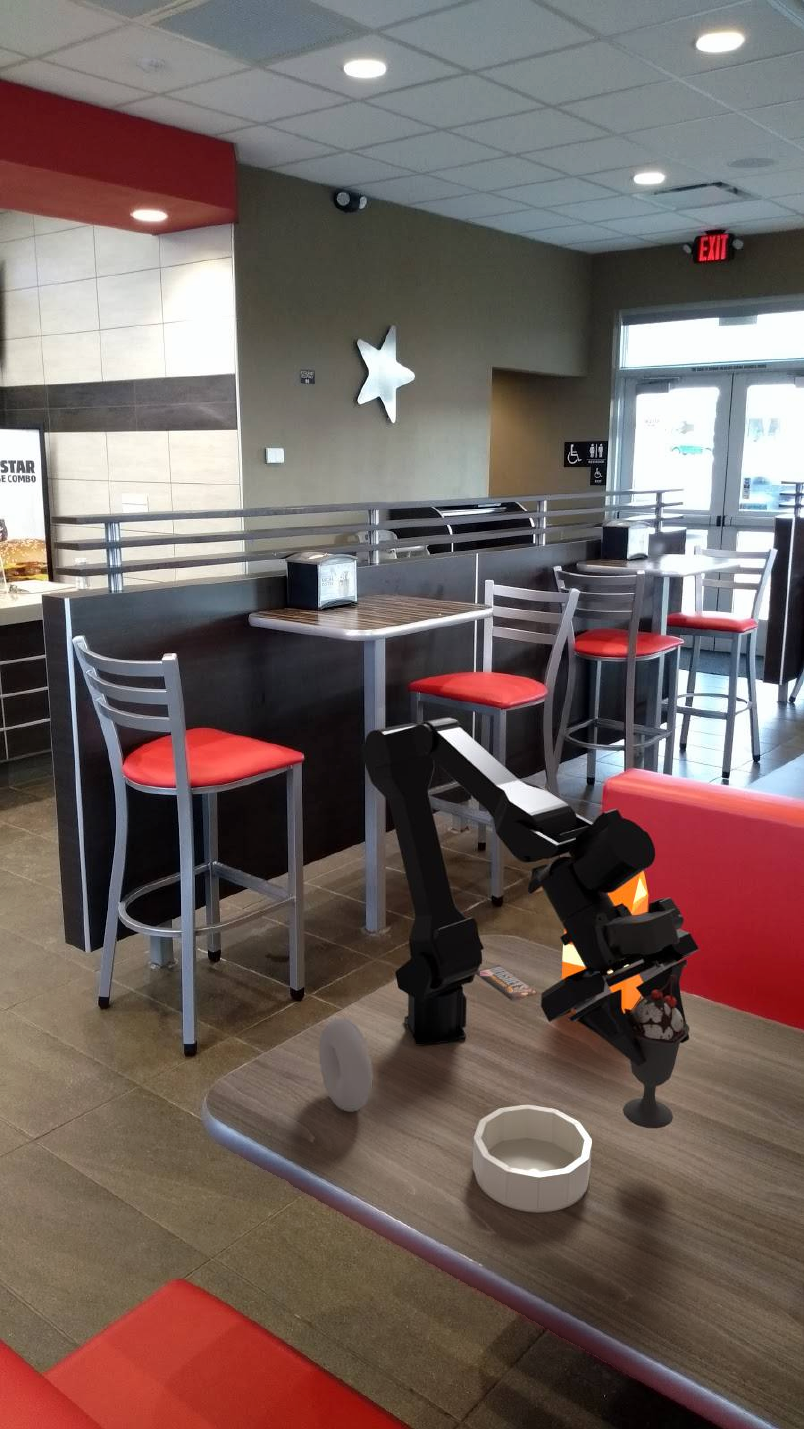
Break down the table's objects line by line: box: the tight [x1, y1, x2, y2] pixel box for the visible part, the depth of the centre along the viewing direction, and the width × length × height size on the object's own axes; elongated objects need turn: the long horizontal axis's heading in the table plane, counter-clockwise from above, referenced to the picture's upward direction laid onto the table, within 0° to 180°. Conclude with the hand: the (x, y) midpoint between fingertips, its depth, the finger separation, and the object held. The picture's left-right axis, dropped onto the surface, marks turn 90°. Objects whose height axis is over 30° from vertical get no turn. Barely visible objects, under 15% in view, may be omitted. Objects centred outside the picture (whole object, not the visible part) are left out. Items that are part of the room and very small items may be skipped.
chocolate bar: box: [475, 964, 539, 1002], centre depth 148 cm, size 11×5×1 cm, turn 29°
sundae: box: [622, 975, 690, 1130], centre depth 107 cm, size 7×7×15 cm
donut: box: [318, 1017, 373, 1113], centre depth 118 cm, size 10×4×10 cm, turn 25°
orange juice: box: [561, 870, 649, 1013], centre depth 141 cm, size 8×9×20 cm
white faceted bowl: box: [472, 1104, 593, 1214], centre depth 108 cm, size 11×11×4 cm
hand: (664, 1052), depth 106 cm, fingers closed on sundae, 6 cm apart
